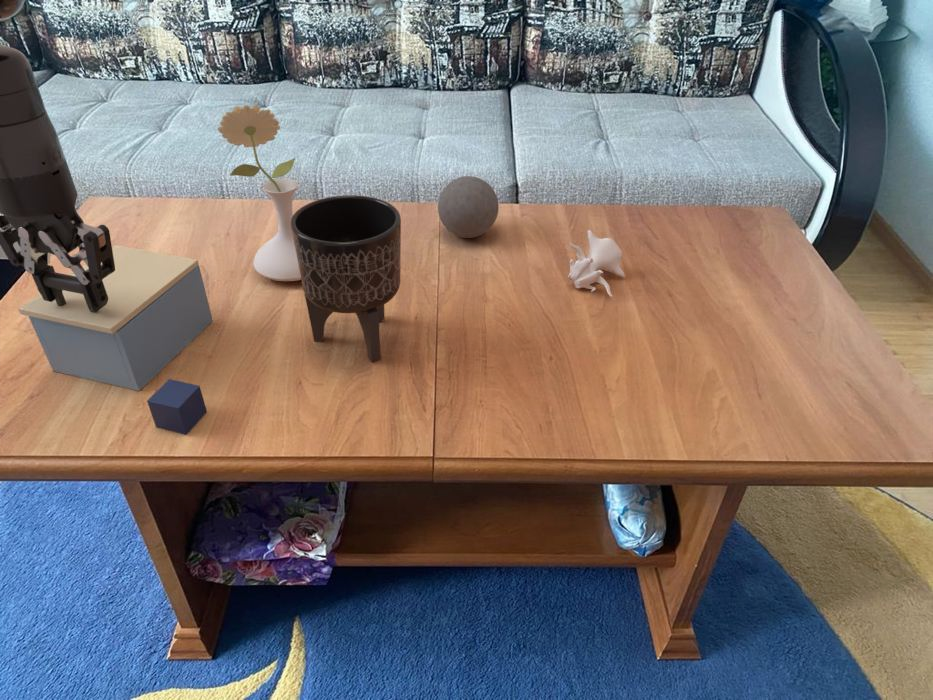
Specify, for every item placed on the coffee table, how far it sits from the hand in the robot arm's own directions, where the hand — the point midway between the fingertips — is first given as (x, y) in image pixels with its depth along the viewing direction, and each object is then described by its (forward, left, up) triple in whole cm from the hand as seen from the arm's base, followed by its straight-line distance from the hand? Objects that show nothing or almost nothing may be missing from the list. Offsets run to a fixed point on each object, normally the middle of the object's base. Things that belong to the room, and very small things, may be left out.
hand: (76, 302), depth 78 cm
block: (+6, -13, -11) cm, 18 cm away
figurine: (+67, -16, -11) cm, 70 cm away
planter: (+30, -10, -11) cm, 33 cm away
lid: (+4, +4, -2) cm, 6 cm away
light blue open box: (+5, +4, -11) cm, 12 cm away
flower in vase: (+29, +12, -11) cm, 33 cm away
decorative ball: (+59, +7, -11) cm, 60 cm away
